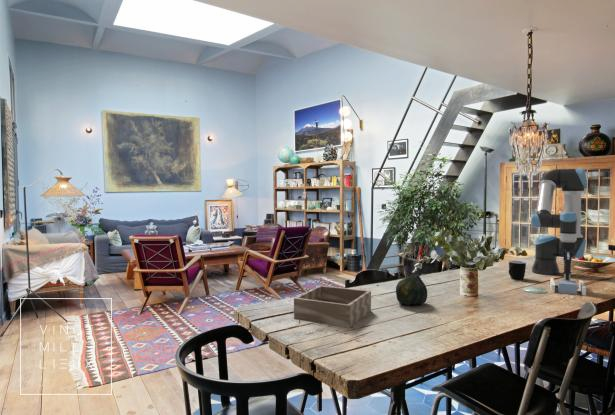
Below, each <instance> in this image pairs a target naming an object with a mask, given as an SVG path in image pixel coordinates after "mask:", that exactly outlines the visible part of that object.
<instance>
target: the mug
mask: <svg viewBox="0 0 615 415" xmlns="http://www.w3.org/2000/svg"><path fill="white" fill-rule="evenodd" d="M526 264H527V263H526V261H523V260H509V261H508V274H509V276H510V278H511V280H515V281H522V280H524V278H525V274H526V269H527V268H526V267H527V265H526Z"/></svg>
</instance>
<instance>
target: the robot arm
mask: <svg viewBox="0 0 615 415" xmlns="http://www.w3.org/2000/svg"><path fill="white" fill-rule="evenodd" d="M587 181H588V180H587V173H586V170H585V169H584V168H575V167H574V168H555V169H551V170H549V171H547V172H546V173H544V174H543V175H542V176H541V178H539V180H538V190H539V191H538V199H537V205H536V213H532V214H531V215H530V225H531V227H534V228H551V229H555V228H556V229H559V234H558V235H554V234H553V235H552V234H551V235H550V234H549V235H541V236H537V237H536V238H535V244H534V245H535V250H534V252H535V253H534V254H535V259H534V261H533V264H532V267H531V272H532V273H534V274H538V275H548V276H554V275H555V276H556V275H559V274H560V269H559V264H558V262H557V258H563V272H562V275H563V281H571V274H572V271H571V269H572V268H571V267H572V266H571V265H572V260H573V259H582V258H583V257H584V255H585V248H586V244H587V243H586V242H587V239H585V238H584V236H583V235H582V233H581V230H582V229H581V224H582V223H581V222H582V221H581V220H582V218H581V217H582V194H583V193H584V192H585V189H587V188H588V182H587ZM556 189H561V192H562V193H563V194H564V199H563V200H564V203H563V204H564V207H563V209H564V210H563V211H562V212H560V214H559V213H558V214H555V213H554V214H553V212H552V210H553V201H554V193H555V190H556Z"/></svg>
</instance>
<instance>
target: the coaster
mask: <svg viewBox="0 0 615 415" xmlns="http://www.w3.org/2000/svg"><path fill="white" fill-rule="evenodd" d="M522 290H523V291H524V292H527V293H533V294H545V293H547V292H548V290H547V289H545V288H543V287H537V286H525V287H523V289H522Z"/></svg>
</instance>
